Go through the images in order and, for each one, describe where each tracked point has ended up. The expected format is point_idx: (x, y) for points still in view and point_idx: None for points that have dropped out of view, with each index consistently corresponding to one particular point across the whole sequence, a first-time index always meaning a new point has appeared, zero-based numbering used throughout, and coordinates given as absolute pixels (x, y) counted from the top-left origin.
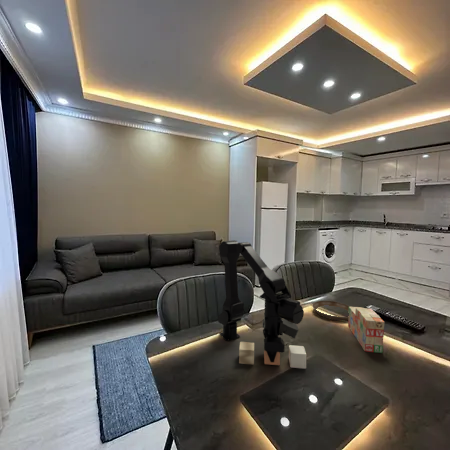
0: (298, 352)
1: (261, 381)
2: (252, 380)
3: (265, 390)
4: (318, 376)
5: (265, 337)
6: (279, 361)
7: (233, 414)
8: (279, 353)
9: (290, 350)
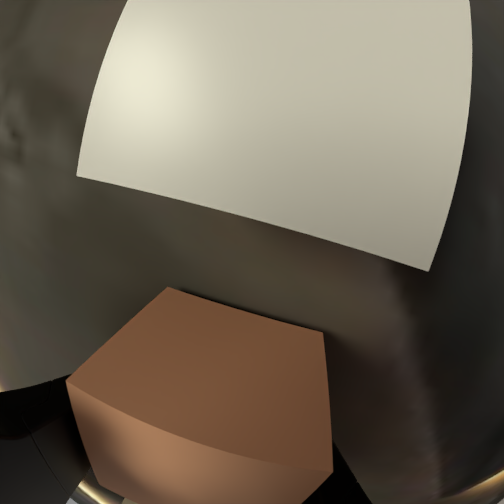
0: (427, 63)
1: (421, 455)
2: (393, 481)
3: (478, 440)
4: (485, 38)
5: (62, 502)
6: (325, 360)
7: (481, 494)
8: (327, 439)
9: (313, 228)
